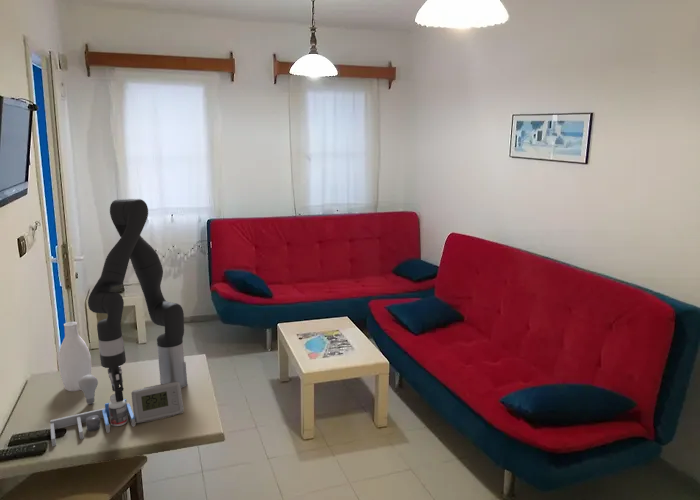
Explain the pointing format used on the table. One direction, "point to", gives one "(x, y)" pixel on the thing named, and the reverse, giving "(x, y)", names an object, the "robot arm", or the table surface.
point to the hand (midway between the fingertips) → (117, 395)
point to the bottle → (73, 358)
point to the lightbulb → (88, 387)
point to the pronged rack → (87, 421)
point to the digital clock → (157, 402)
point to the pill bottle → (117, 412)
